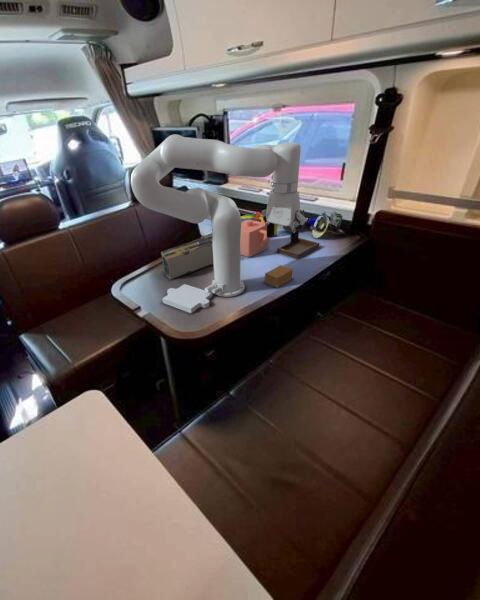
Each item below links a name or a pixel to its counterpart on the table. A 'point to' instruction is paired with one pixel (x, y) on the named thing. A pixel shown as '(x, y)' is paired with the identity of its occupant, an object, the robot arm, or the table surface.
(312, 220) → the figurine
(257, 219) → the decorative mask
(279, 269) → the tan rectangular block
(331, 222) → the toy vehicle
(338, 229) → the cream rimmed round part
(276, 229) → the supplement box
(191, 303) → the mounting plate
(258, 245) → the pink jerry can
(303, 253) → the brown wooden tray
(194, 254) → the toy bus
